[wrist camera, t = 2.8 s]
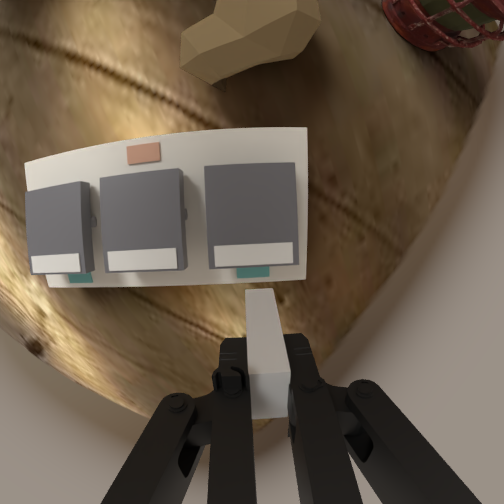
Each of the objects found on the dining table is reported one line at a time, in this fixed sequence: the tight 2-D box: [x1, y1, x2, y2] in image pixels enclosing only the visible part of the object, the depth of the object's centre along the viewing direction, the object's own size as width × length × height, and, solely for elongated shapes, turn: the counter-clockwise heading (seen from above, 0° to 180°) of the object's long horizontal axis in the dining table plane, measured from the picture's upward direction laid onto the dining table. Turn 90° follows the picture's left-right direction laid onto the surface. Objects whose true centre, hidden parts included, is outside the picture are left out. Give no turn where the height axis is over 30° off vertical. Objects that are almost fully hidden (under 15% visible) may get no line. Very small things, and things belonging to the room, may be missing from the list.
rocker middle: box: [100, 168, 188, 273], centre depth 23 cm, size 8×7×2 cm
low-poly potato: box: [180, 0, 321, 92], centre depth 19 cm, size 15×11×12 cm
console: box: [25, 127, 308, 287], centre depth 27 cm, size 14×28×6 cm, turn 92°
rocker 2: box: [204, 162, 299, 269], centre depth 23 cm, size 8×7×2 cm
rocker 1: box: [25, 181, 95, 275], centre depth 23 cm, size 8×7×2 cm
